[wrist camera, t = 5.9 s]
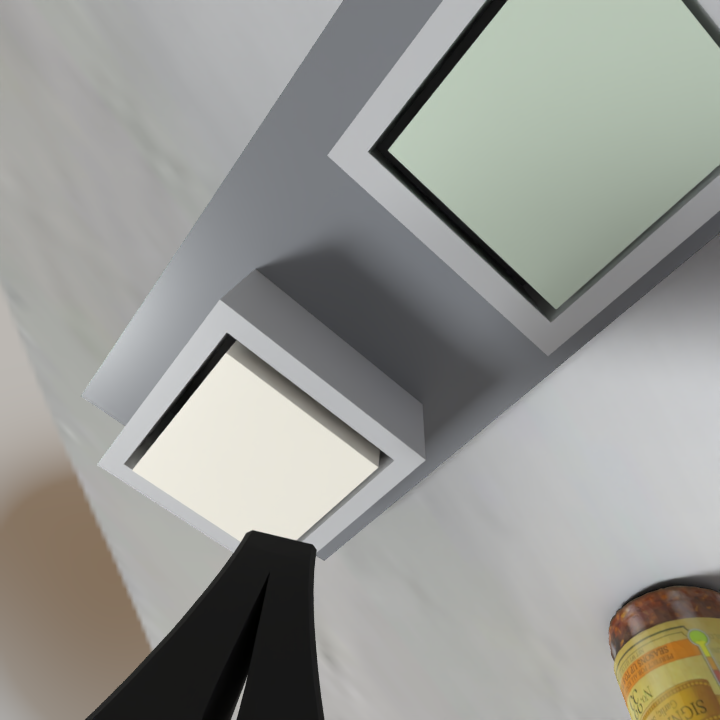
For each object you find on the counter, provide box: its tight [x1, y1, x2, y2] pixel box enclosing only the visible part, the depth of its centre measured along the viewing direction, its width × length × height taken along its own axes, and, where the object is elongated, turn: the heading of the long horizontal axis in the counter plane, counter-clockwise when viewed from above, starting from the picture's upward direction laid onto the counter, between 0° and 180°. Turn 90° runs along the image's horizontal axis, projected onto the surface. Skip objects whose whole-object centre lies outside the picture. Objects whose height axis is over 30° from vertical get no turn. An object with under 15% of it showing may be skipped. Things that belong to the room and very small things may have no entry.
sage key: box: [388, 0, 720, 309], centre depth 10 cm, size 5×5×2 cm
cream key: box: [132, 340, 380, 542], centre depth 14 cm, size 5×5×2 cm
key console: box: [81, 0, 720, 561], centre depth 14 cm, size 11×20×6 cm, turn 140°
